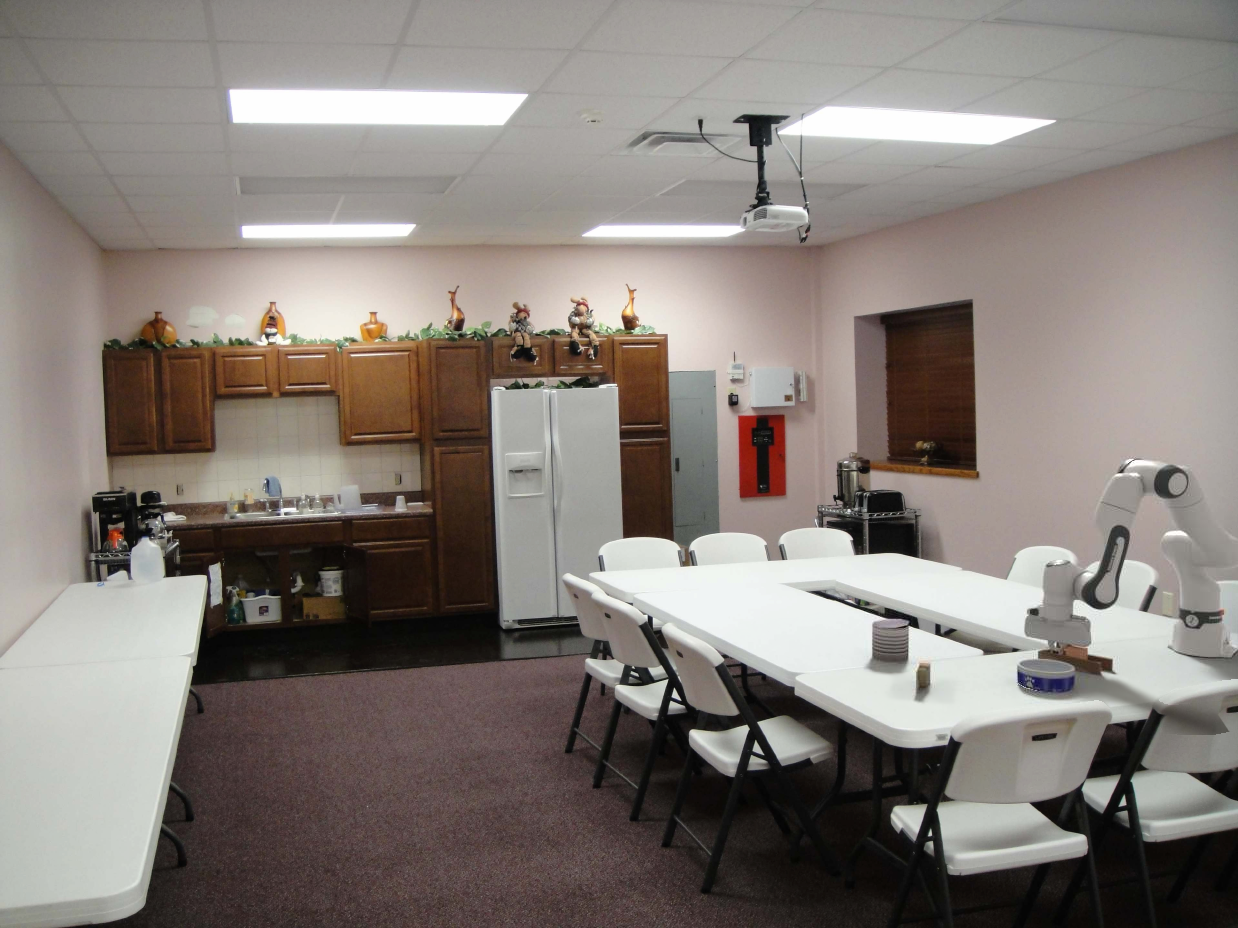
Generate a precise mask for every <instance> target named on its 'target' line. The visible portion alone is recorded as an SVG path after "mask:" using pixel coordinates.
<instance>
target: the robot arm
mask: <svg viewBox="0 0 1238 928" xmlns="http://www.w3.org/2000/svg"><path fill="white" fill-rule="evenodd" d="M1145 496H1147V497H1154V498H1160V499H1163V501H1164V504H1165V508H1166V511H1167V514H1168V517H1169V518H1170V519H1169V520H1170V522H1171V523H1172V525H1173V526H1174V527H1175V528H1176V529H1177V530H1171V531H1167V532H1166V533H1165V534H1164V535H1163V536H1162V538H1161V540H1160V545H1159V548H1160V553H1161V555H1162V556H1163V557H1164V558H1165V559H1166V560H1167V561H1168V562H1169V563H1170V565H1172V568H1173V569H1174V571H1175V573H1176V575H1177V578H1178V581H1179V589H1180V590H1179V592H1180V593H1179V594H1180V603H1179V604H1180V606H1179V607H1178V610H1177V613H1178V615H1177V616H1178V620H1177V621H1175V622H1174V623H1173V631H1172V639H1171V640H1172V641H1171V642H1169V643H1167V647H1168V648H1169V649H1172V650H1173V651H1175V652H1177V653H1180V654H1183V655H1189V656H1194V657H1201V658H1232V657H1233V656H1234V655H1235V654H1236V653H1235V652H1238V645H1236V644H1234V643H1233V644H1232V643H1231V631H1230V630H1229V629H1228V627H1227V626H1226V625H1225V624H1224V623H1223V616H1224V615H1225V609H1224V608H1222V609H1221V587H1220V584H1218V582H1217V581H1216V580H1215V579H1213V578H1211V577H1210V575H1209V574H1208V571H1207V570H1206V568H1208V569H1209V568H1210V569H1215V570H1229V569H1230V570H1233V569H1237V568H1238V538H1236V537H1235V536H1234V535H1232V534H1230V533H1229V532H1227V531H1226V529H1225V528H1223V527H1222V526H1221V525H1220V524H1219V523H1218V521H1217V520H1216V519H1215V517H1214V516H1213V515H1212V513H1211V511H1210V508H1209V506H1208V503H1207V500H1206V498H1205V494H1204V492H1203V490H1202V487H1201V485H1200V483H1199V480H1198V478H1197V477H1196V475H1195V474H1194V473H1193V471H1192V469H1190V468H1189V467H1187V466H1185V465H1174V464H1169V463H1165V462H1163V461H1158V460H1150V459H1142V458H1130V459H1126V460H1125V461H1124V462H1122V463H1121V465H1120V466H1119V468H1118V470H1117V472H1116V474H1115V475H1113V476H1112V477H1111V479H1110V480H1109V481H1108V483H1107V485H1106V486H1105V488H1104V490H1103V492H1102V493H1101V495H1100V499H1099V500H1098V503H1097V506H1096V507H1095V512H1094V515H1093V516H1094V517H1093V523H1094V527H1095V529H1096V530H1097V531H1098V533H1099V534H1100V536H1101V538H1102V540H1103V550H1102V553H1101V557H1100V559H1099V564H1098V567H1097V570H1096V572H1093V571H1090V570H1088V569H1085V568H1082V567H1080V566H1078V565H1076V564H1074V563H1073V562H1072V561H1070V560H1067V559H1056V560H1052V561H1050V562H1047V563H1046V565H1044V570H1043V576H1042V591H1043V598H1042V601H1041V602H1042V604H1039V605H1035V606H1032V607H1029V608H1027V609H1026V614H1027V616H1026V617H1025V620H1024V626H1023V628H1024V630H1023V631H1024V632H1023V633H1024V635H1025V636H1026V638H1027V637H1028V638H1031V639H1038V640H1043V641H1047V646H1048V647H1050V649H1051V653H1055V654H1060V655H1063V650H1064V649H1065V648H1066V646H1067V644H1068V645H1074V646H1079V647H1087V648H1088V647H1089V646H1090V645H1091V644H1092V633H1091V629H1092V628H1091V627H1092V623H1091V620H1089V619H1088V618H1087V617H1086V616H1082V615H1081V616H1080V615H1076V614H1074V602H1075V601H1080V602H1083V603H1085V604H1086V605H1088V606H1089V607H1091V608H1092V609H1095V610H1098V611H1099V610H1100V611H1102V610H1106V609H1110V608H1112V607H1113V606H1114V605H1115V603H1117V601H1118V599H1119V595H1120V577H1121V573H1122V570H1123V566H1124V563H1125V560H1126V557H1127V553H1128V549H1129V545H1130V539H1131V538H1130V537H1131V531H1132V528H1133V524H1134V522H1135V518H1136V516H1137V513H1138V511H1139V508H1140V504H1141V500H1143V498H1144V497H1145ZM1056 642H1058V643H1059V646H1061V647H1060V649H1059V650H1057V649H1056V646H1055V645H1056ZM1234 653H1235V654H1234ZM1233 654H1234V655H1233Z"/></svg>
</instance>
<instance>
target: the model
mask: <svg viewBox="0 0 1238 928" xmlns="http://www.w3.org/2000/svg"><path fill="white" fill-rule="evenodd" d="M930 684H931V660H923V659H920V660H919V661H918V662H917V667H916V669H915V693H916V694H918V692H919V688H920V687H928V685H930Z"/></svg>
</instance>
